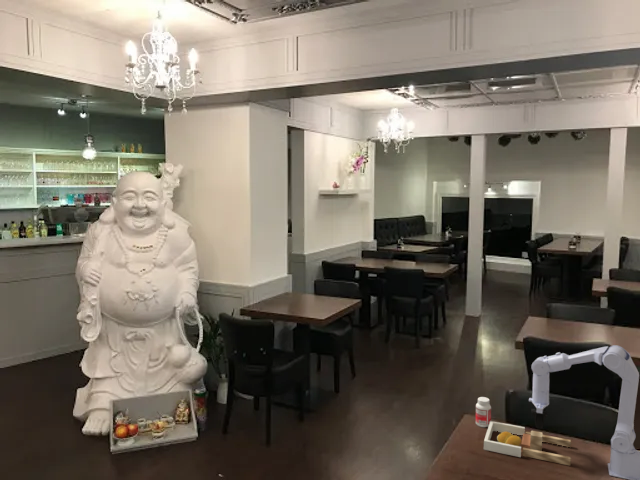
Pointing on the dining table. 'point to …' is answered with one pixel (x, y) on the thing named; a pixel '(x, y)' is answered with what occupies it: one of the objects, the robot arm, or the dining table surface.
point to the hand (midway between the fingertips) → (539, 423)
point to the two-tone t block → (532, 441)
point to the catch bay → (503, 447)
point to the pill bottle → (483, 412)
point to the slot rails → (549, 456)
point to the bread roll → (509, 439)
